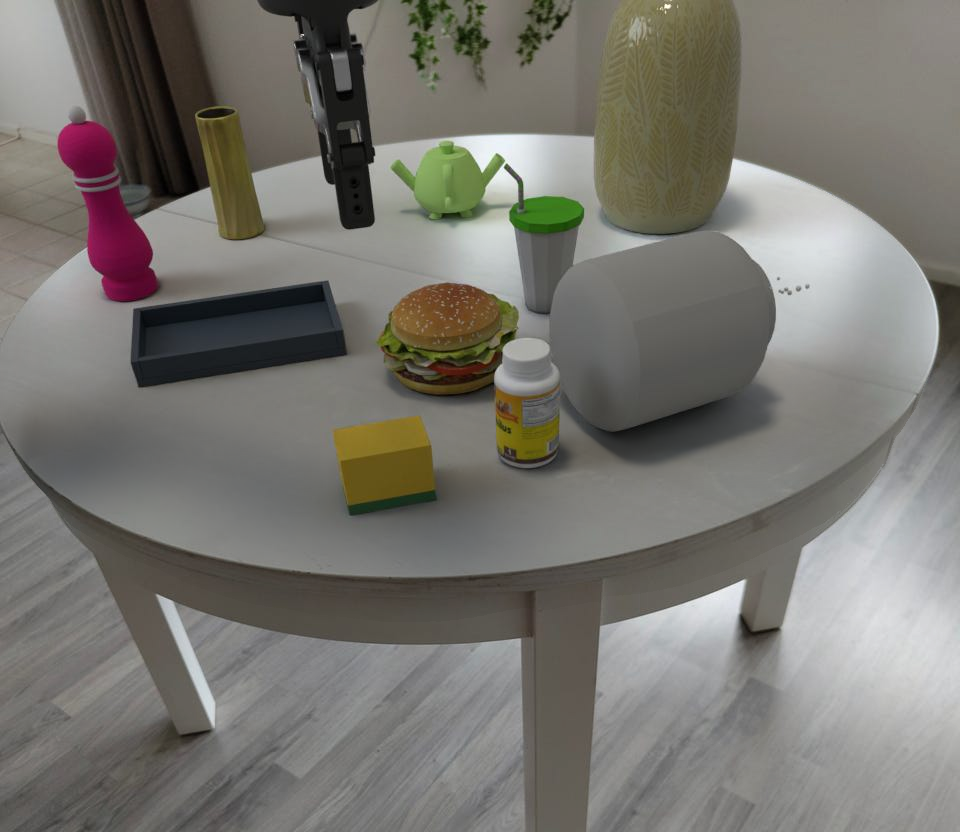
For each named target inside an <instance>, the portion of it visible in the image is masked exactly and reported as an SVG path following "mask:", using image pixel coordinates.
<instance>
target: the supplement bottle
mask: <svg viewBox="0 0 960 832" xmlns="http://www.w3.org/2000/svg"><path fill="white" fill-rule="evenodd" d="M493 387H494V407H495V409H494V413H495V433H496V435H495V437H496V450H497V454H498V456H499V458H500V459H501V460H502V461H503V462H505V463H506V464H508V465H509V466H512V467H515V468H519V469H534V468H539V467H542V466H545V465H547V464H549V463H550V462H552V461H553V460H554V459H555V458H556V456H557V455H558V453H559V447H560V407H561V405H560V404H561V403H560V401H561V398H560V397H561V383H560V373H559V370H558V368H557V367H556V366H555V365H554V362H552V358H551V346H550V345H549V344H548V343H547V342H546V341H544V340H542V339H539V338H534V337H519V338H515V340H513V341H510V342H508V343H507V344H506V345H505V346H504V347H503V359H502V364H501V365H500V366H499V367H498V368H497V370H496V371H495V375H494V382H493Z"/></svg>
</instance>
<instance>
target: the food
mask: <svg viewBox="0 0 960 832" xmlns="http://www.w3.org/2000/svg"><path fill="white" fill-rule="evenodd" d="M519 315H520V313H519V310H518V308H517V307H516V306H515V305H511V304H510V303H509V302H508V301H505V300H502V299H501V298H499V297H497V296H496V294H494V293H489V292H487V291H485V290H484V289H481V288H478V287H477V286H473V285H470V284H465V283H464V284H463V283H457V282H440V283H435V284H428V285H425V286H423V287H420V288H418V289H415V290H414V291H410V292H409V293H408V294H407V295H405V296H404V297H402V298H401V299H400V301H398V302H397V304H395V305H394V308H393V309H392V310H391V311H390V312H389V313H388V323H386V324H385V326H384V329H383V331H382V332H381V333H380V335H379V338H378V339H376V341H375V343H376V345H377V346H378V347H380V350H381V352H382V353H384V355H383V364H384V366H385V367H386V369H387V370H388V371H391V372H393V374H394V376H395V377H396V378H397V380H398V381H400V382H401V384H402V385H403V386H404V387H406V388H408V389H411V390H414V391H416V392H419V393H424V394H429V395H435V396H439V395H442V396H443V395H459V394H465V393H469V392H473V391H477V390H479V389H482V388H484V387H486V386H488V385H490V384H491V383H494V375H495V371H496V370H497V368H498V367H499V366H500V365H501V364H502V359H503V347H504V346H505V345H506V344H507V343H508V342H510V341H513V340H516V335H517V332H518V329H519V327H518V322H519V319H520V316H519Z"/></svg>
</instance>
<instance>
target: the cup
mask: <svg viewBox="0 0 960 832" xmlns="http://www.w3.org/2000/svg"><path fill="white" fill-rule="evenodd" d="M503 169H504V170H505V171H506V172H507V173H508V174H509V175H510V176H511V177H512V178H513V179H514V180H515V181H516V183H517V200H518V201H517V202H516V203H514V204H513V205H512V206H511V208H510V210H509V211H508V218H509V219H508V220H509V222H510V223H511V225H512V226H513V227H514V228H513V230H514V236H515V243H516V249H517V255H518V256H517V257H518V262H519V270H520V275H521V281H522V282H521V283H522V287H523V296H524V303H525V307H526V308H527V309H528V310H529V311H531V312H533V313H535V314H544V315H545V314H546V315H547V314H550V312H551V306H552V301H553V297H554V293H555V290H556V288H557V285H558V283H559V282H560V280H561V279H562V277H563V276H564V275H565V273H566V272H567V271H568V269H569V268H571V267H572V266H574V261H575V253H576V249H577V240H578V235H579V228H580V226H581V224H582V222H583V220H584V218H585V207H584V206H583V205H582V204H581V203H580V202H579V201H578V200H575V199H571V198H568V197H564V196H551V195H549V196H548V195H543V196H535V197H530V198H525V194H524V193H525V192H524V191H525V190H524V181H523V178H522V177H521V176H520V175H519V174H518V173H517V172H516V171H515V169H513V167H511V165H509V163H507V162H505V163H504V166H503Z"/></svg>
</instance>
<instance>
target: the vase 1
mask: <svg viewBox="0 0 960 832" xmlns="http://www.w3.org/2000/svg"><path fill="white" fill-rule="evenodd" d="M194 118H195V122H196V126H197V131H198V135H199V138H200V139H199V140H200V144H201V148H202V151H203V156H204V161H205V166H206V172H207V177H208V182H209V187H210V193H211V197H212V203H213V207H214V212H215V217H216V222H217V229H218V230H217V231H218V234H219V235H220V236H221V237H222V238H224V239H228V240H245V239H246V240H247V239H251V238H253V237H256V236H258V235H260V234H262V233H263V232H264V231H265V229H266V225H265V222H264V219H263V216H262V212H261V207H260V203H259V199H258V195H257V192H256V187H255V182H254V179H253V174H252V169H251V165H250V161H249V157H248V152H247V147H246V143H245V139H244V138H245V137H244V134H243V129H242V124H241V118H240V113H239V110H238V109H237V108H236V107H233V106H229V105H217V106H211V107H210V106H209V107H207V108H203V109H201V110H198V111H196V113H195V114H194Z"/></svg>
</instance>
